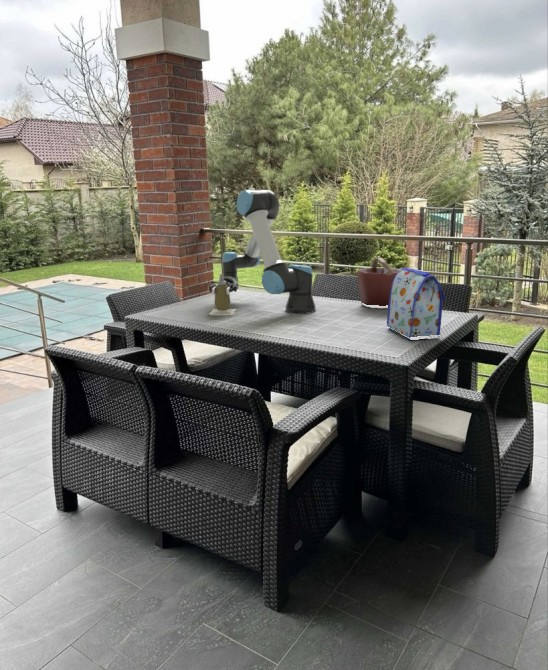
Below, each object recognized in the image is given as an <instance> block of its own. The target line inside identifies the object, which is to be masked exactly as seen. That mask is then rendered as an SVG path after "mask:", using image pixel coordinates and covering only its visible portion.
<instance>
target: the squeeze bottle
mask: <svg viewBox="0 0 548 670" xmlns="http://www.w3.org/2000/svg"><path fill="white" fill-rule="evenodd" d="M216 285H217V286H216V287H215V294H214V305H215V309H217V310H220V311H224V310H228V309H230V305H231V297H230V293H229V294H228V295H227V288H228V286H227V285H226V281H224V278H223V273H220V274H219V279H218V281H216Z"/></svg>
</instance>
